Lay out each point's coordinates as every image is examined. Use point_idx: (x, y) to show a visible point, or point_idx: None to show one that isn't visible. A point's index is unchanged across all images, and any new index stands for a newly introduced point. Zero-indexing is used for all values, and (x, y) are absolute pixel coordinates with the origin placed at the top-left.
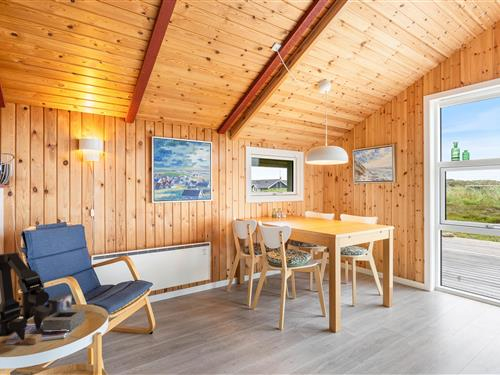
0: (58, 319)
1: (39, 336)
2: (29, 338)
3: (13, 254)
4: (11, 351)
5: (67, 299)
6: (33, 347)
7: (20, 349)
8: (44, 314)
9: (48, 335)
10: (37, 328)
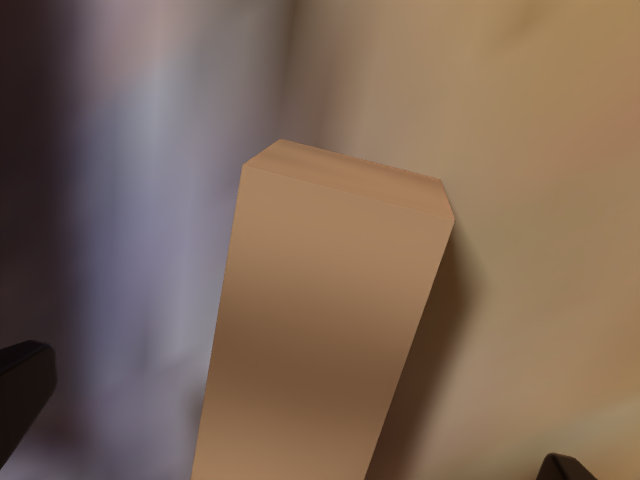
0: None
1: (319, 181)
2: (402, 366)
3: None
4: (613, 465)
5: None
6: (596, 145)
7: (590, 360)
8: None
9: (90, 104)
10: (30, 395)
